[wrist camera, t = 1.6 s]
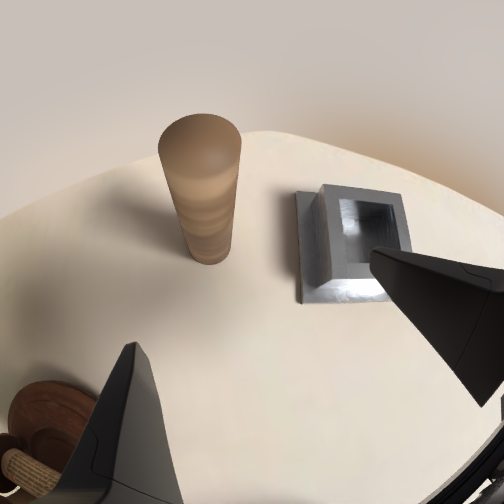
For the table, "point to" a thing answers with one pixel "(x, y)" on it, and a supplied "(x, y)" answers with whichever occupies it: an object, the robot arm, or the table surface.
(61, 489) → the robot arm
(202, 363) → the table surface
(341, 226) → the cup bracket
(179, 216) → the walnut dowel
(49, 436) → the brown wooden spool stand
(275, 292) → the table surface
